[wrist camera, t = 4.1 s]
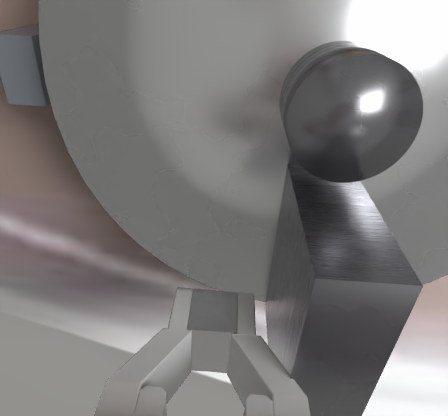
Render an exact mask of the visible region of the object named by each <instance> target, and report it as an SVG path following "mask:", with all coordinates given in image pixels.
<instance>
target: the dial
mask: <svg viewBox="0 0 448 416" xmlns="http://www.w3.org/2000/svg"><path fill="white" fill-rule="evenodd" d="M38 12H39V43H40V50H41V57H42V64H43V71H44V78H45V83H46V87H47V91H48V94H49V98H50V102H51V106H52V109H53V113H54V117H55V120H56V122H57V125H58V127H59V130H60V132H61V135H62V137H63V140H64V142H65V145H66V147H67V150H68V152H69V154H70V156H71V158H72V160H73V161H74V163H75V165H76V167H77V169H78V171H79V173H80V174H81V176H82V178H83V180H84V182H85V183H86V184H87V186H88V187H89V189H90V190H91V192H92V193H93V194H94V196H95V197H96V199H97V200H98V201H99V203H100V204H101V206H102V207H103V208H104V209H105V210H106V212H107V213H108V214H109V215H110V216H111V217H112V218H113V219H114V221H115V222H116V223H117V224H118V225H119V226H120V227H121V228H122V229H123V230H124V231H125V232H126V233H127V234H128V235H129V236H130V237H131V238H133V239H134V240H135V241H136V242H137V243H138V244H139V245H140V246H141V247H143V248H144V249H145V250H147V251H148V252H149V253H151V254H152V255H154V256H155V257H156V258H158V259H159V260H161V261H162V262H163V263H165V264H166V265H168V266H170V267H171V268H173V269H175V270H177V271H179V272H180V273H182V274H184V275H186V276H187V277H189V278H191V279H194V280H196V281H198V282H201V283H203V284H205V285H207V286H210V287H212V288H215V289H218V290H221V291H229V292H237V293H238V292H245V293H253V294H254V300H259V301H263V302H265V308H266V322H267V336H268V346H269V348H270V349H271V350H272V352H273V353H274V354H275V356H276V357H277V358H278V359H279V361H280V362H281V363H282V365H283V366H284V367H285V369H286V370H287V371H288V373H289V374H290V379H294V380H295V382H296V383H297V384H298V386H299V387H300V388H301V390H302V391H303V392H304V394H305V395H306V396H307V398H308V403H309V409H310V416H362V414H363V412H364V409H365V407H366V405H367V403H368V401H369V399H370V397H371V395H372V393H373V391H374V388H375V386H376V384H377V382H378V380H379V378H380V376H381V374H382V372H383V370H384V367H385V365H386V363H387V361H388V359H389V357H390V355H391V353H392V351H393V348H394V346H395V344H396V342H397V340H398V338H399V336H400V334H401V332H402V330H403V327H404V325H405V323H406V321H407V319H408V317H409V315H410V313H411V311H412V309H413V306H414V304H415V302H416V300H417V298H418V296H419V294H420V292H421V290H422V288H423V285H424V284H426V283H429V282H432V281H434V280H436V279H439V278H441V277H443V276H445V275H448V0H38Z"/></svg>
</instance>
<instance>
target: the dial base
mask: <svg viewBox="0 0 448 416" xmlns="http://www.w3.org/2000/svg"><path fill="white" fill-rule="evenodd" d="M0 76H1V79H2V83H3V87H4V91H5V94H6V98H7V102H8V104H13V105H28V106H44V107H46V106H48V105H50V104H51V102H50V98H49V94H48V91H47V87H46V83H45V78H44V71H43V64H42V57H41V50H40V43H39V24H36V25H31V26H25V27H20V28H15V29H10V30H5V31H0Z"/></svg>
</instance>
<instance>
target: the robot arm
mask: <svg viewBox="0 0 448 416" xmlns="http://www.w3.org/2000/svg"><path fill="white" fill-rule="evenodd" d="M191 370H194V371H211V372H221V373H227V375H228V377H229V379H230V381H231V383H232V385H233V386H234V389H235V390H236V392H237V394H238V396H239V398H240V400H241V402H242V404H243V406H244V408H245V410H244V416H310V409H309V403H308V398H307V396H306V395H305V394H304V392H303V391H302V390H301V388H300V387H299V386H298V384H297V383H296V382H295V380H294V379H290V374H289V373H288V371H287V370H286V369H285V367H284V366H283V365H282V363H281V362H280V361H279V359H278V358H277V357H276V356H275V354H274V353H273V352H272V350H271V349H270V348H269V346H268V345H267V344H266V342H265V341H264V340H263V338H262V337H261V336H257V335H256V328H255V303H254V294H253V293H245V292H238V293H237V292H229V291H215V290H204V289H191V288H181V287H178V288H177V290H176V294H175V298H174V303H173V307H172V312H171V317H170V321H169V326H168V328H163V329H162V330H161V331H160V332H159V333H157V334H156V335H155V336H154V337H153V338H152V339H151V340H150V341H149V342H148V343H147V344H146V345H145V346H143V347H142V348H141V349H140V350H139V351H138V352H137V353H136V354H135V355H134V356H133V357H132V358H131V359H129V360H128V361H127V362H126V363H125V364H124V365H123V366H122V367H121V368H120V369H119V370H118V371H117V372H116V373H114V374H113V375H112V376H111V377H110V378H109V379H108V380H107V381H106V383H105V386H104V389H103V392H102V394H101V397H100V400H99V403H98V406H97V408H96V411H95V414H94V416H167V409H166V404H167V403H168V401H169V400H170V399H171V398H172V396H173V395H174V394H175V392H176V391H177V390H178V388H179V387H180V386H181V384H182V383H183V382H184V381H185V379H186V378H187V376H188V375H189V374H190V373H191Z"/></svg>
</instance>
